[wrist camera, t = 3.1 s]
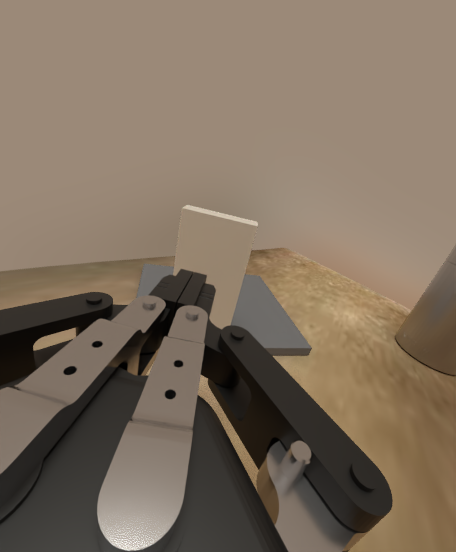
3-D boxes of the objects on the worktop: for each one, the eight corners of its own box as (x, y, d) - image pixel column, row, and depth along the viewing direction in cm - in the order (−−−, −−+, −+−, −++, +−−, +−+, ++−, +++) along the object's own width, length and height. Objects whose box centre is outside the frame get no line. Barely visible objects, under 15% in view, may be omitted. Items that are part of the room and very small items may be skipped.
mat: (257, 281, 48) (259, 275, 47) (308, 355, 30) (311, 348, 30) (143, 269, 41) (143, 263, 41) (125, 355, 24) (125, 346, 23)
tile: (224, 344, 27) (257, 226, 21) (165, 330, 27) (182, 207, 21) (226, 332, 29) (257, 221, 23) (171, 319, 29) (188, 204, 23)
